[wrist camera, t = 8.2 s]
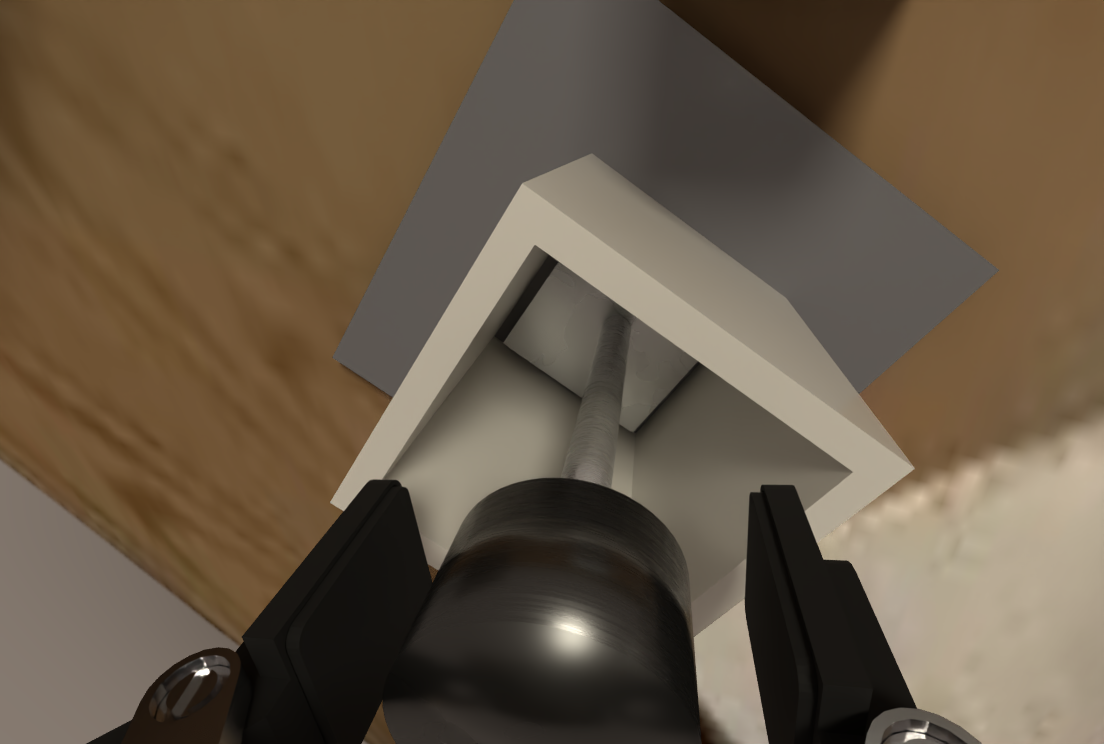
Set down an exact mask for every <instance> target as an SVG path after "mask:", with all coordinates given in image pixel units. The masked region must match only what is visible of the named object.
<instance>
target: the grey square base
mask: <svg viewBox="0 0 1104 744" xmlns="http://www.w3.org/2000/svg"><path fill="white" fill-rule="evenodd" d="M558 262H560V263H562V264H563V265H564V266H566V267H567V268H569V269H570V270H571V271H573V272H574V273H576V274H577V275H578V276H580V277H581V278H583V279H584V280H585V281H587V282H588V283H590V284H591V285H592V286H594V287H595V288H597V289H598V290H599V291H601V292H602V293H603V294H605V295H606V296H608V297H609V298H610V299H612V300H613V301H615V302H616V303H617V304H619V305H620V306H622V307H623V308H624V309H626V310H627V311H629V312H630V313H631V314H633V315H634V316H636V317H637V318H638V319H640V320H641V321H643V322H644V323H645V324H647V325H648V326H650V327H651V328H652V329H654V330H655V331H657V332H658V333H659V334H661V335H662V336H664V337H665V338H666V339H668V340H669V341H671V342H672V343H673V344H675V345H676V346H678V347H679V348H680V349H682V350H683V351H685V352H686V353H687V354H689V355H690V356H692V357H693V358H694V359H696V360H697V361H698V362H697V363H696V364H695V365H694V366H693V367H692V368H691V370H690V371H689V372H688V373H687V374H686V375H685V376H684V377H683V378H682V379H681V380H680V382H679V383H678V384H677V385H676V386H675V387H674V388H673V389H672V390H671V391H670V393H669V394H668V395H667V396H666V397H665V398H664V399H663V400H662V401H661V402H660V403H659V405H658V406H657V407H656V408H655V409H654V410H653V411H652V412H651V413H650V414H649V415H648V417H647V418H646V419H645V420H644V421H643V422H642V423H641V424H640V425H639V426H638V427H637V429H636V430H635V431H634V432H633V433H632V432H631V431H629V430H628V429H626V428H625V427H623V426H622V425H620V424H619V430H618V438H617V446H616V454H615V462H614V470H613V478H612V486H611V489H613V490H615V491H618V492H620V493H622V494H624V495H626V496H628V497H630V498H631V499H633V500H635V501H637V502H638V503H640V504H641V505H643V506H644V507H645V508H647V509H648V510H649V511H651V512H652V513H653V514H654V515H655V516H656V517H657V518H658V519H659V520H660V521H661V522H663V523H664V524H665V526H666V527H667V528H668V529H669V531H670V532H671V533H672V534H673V536H674V537H675V539H676V541H677V542H678V544H679V546H680V548H681V549H682V552H683V555H684V557H685V560H686V563H687V567H688V572H689V582H690V596H691V609H692V623H693V637H695V636H696V635H697V634H699V633H700V632H701V631H702V630H704V629H705V628H706V627H708V626H709V625H710V624H712V623H713V622H714V621H716V620H717V619H718V618H720V617H721V616H722V615H723V614H725V613H726V612H727V611H729V610H730V609H731V608H733V607H734V606H735V605H737V604H738V603H739V602H740V601H742V600H743V599H744V598H745V581H746V559H747V536H748V514H749V495H750V492H760V488H761V485H762V484H763V485H794V486H795V488H796V490H797V493H798V495H799V498H800V501H801V503H802V506H803V508H804V511H805V514H806V516H807V519H808V521H809V524H810V527H811V529H812V532H813V534H814V537H815V540H816V542H817V543H818V542H819V541H820V540H822V539H823V538H824V537H826V536H827V535H828V534H830V533H831V532H832V531H834V530H835V529H836V528H837V527H839V526H840V525H841V524H843V523H844V522H845V521H847V520H848V519H849V518H851V517H852V516H853V515H855V514H856V513H857V512H858V511H860V510H861V509H862V508H864V507H865V506H866V505H868V504H869V503H870V502H872V501H873V500H874V499H875V498H877V497H878V496H879V495H881V494H882V493H883V492H885V491H886V490H887V489H889V488H890V487H891V486H893V485H894V484H895V483H896V482H898V481H899V480H900V479H902V478H903V477H904V476H906V475H907V474H908V473H910V472H911V471H912V470H913V469H915V468H914V467H913V465H912V464H911V463H910V461H909V460H908V459H907V457H906V456H905V455H904V453H903V452H902V451H901V449H900V448H899V447H898V446H897V444H896V443H895V442H894V440H893V439H892V438H891V436H890V435H889V434H888V432H887V431H886V430H885V428H884V427H883V426H882V424H881V423H880V422H879V420H878V419H877V418H876V416H875V415H874V414H873V412H872V411H871V410H870V408H869V407H868V406H867V404H866V403H865V402H864V400H863V399H862V398H861V396H860V395H859V393H860V392H862V391H863V390H864V389H865V388H866V387H867V386H868V385H870V384H871V383H872V382H873V381H874V380H875V379H876V378H877V377H879V376H880V375H881V374H882V373H883V372H884V371H885V370H887V369H888V368H889V367H890V366H891V365H892V364H893V363H894V362H896V361H897V360H898V359H899V358H900V357H901V356H902V355H904V354H905V353H906V352H907V351H908V350H909V349H910V348H911V347H913V346H914V345H915V344H916V343H917V342H918V341H919V340H921V339H922V338H923V337H924V336H925V335H926V334H927V333H928V332H930V331H931V330H932V329H933V328H934V327H935V326H936V325H938V324H939V323H940V322H941V321H942V320H943V319H944V318H946V317H947V316H948V315H949V314H950V313H951V312H952V311H953V310H955V309H956V308H957V307H958V306H959V305H960V304H961V303H963V302H964V301H965V300H966V299H967V298H968V297H969V296H970V295H972V294H973V293H974V292H975V291H976V290H977V289H978V288H980V287H981V286H982V285H983V284H984V283H985V282H986V281H987V280H989V279H990V278H991V277H992V276H993V275H994V274H995V273H997V272H998V271H999V270H998V269H997V268H996V267H995V266H993V265H992V264H991V263H989V262H988V261H987V260H986V259H984V258H983V257H982V256H981V255H979V254H978V253H977V252H976V251H974V250H973V249H972V248H971V247H969V246H968V245H967V244H965V243H964V242H963V241H962V240H960V239H959V238H958V237H957V236H955V235H954V234H953V233H952V232H950V231H949V230H948V229H947V228H945V227H944V226H943V225H941V224H940V223H939V222H938V221H936V220H935V219H934V218H933V217H931V216H930V215H929V214H928V213H926V212H925V211H924V210H922V209H921V208H920V207H919V206H917V205H916V204H915V203H914V202H912V201H911V200H910V199H909V198H907V197H906V196H905V195H904V194H902V193H901V192H900V191H898V190H897V189H896V188H895V187H893V186H892V185H891V184H890V183H888V182H887V181H886V180H885V179H883V178H882V177H881V176H880V175H878V174H877V173H876V172H874V171H873V170H872V169H871V168H869V167H868V166H867V165H866V164H864V163H863V162H862V161H861V160H859V159H858V158H857V157H856V156H854V155H853V154H852V153H850V152H849V151H848V150H847V149H845V148H844V147H843V146H842V145H840V144H839V143H838V142H837V141H835V140H834V139H833V138H832V137H830V136H829V135H828V134H826V133H825V132H824V131H823V130H821V129H820V128H819V127H818V126H816V125H815V124H814V123H813V122H811V121H810V120H809V119H808V118H806V117H805V116H804V115H802V114H801V113H800V112H799V111H797V110H796V109H795V108H794V107H792V106H791V105H790V104H789V103H787V102H786V101H785V100H784V99H782V98H781V97H780V96H778V95H777V94H776V93H775V92H773V91H772V90H771V89H770V88H768V87H767V86H766V85H765V84H763V83H762V82H761V81H760V80H758V79H757V78H756V77H754V76H753V75H752V74H751V73H749V72H748V71H747V70H746V69H744V68H743V67H742V66H741V65H739V64H738V63H737V62H736V61H734V60H733V59H732V58H730V57H729V56H728V55H727V54H725V53H724V52H723V51H722V50H720V49H719V48H718V47H717V46H715V45H714V44H713V43H712V42H710V41H709V40H708V39H706V38H705V37H704V36H703V35H701V34H700V33H699V32H698V31H696V30H695V29H694V28H693V27H691V26H690V25H689V24H688V23H686V22H685V21H684V20H682V19H681V18H680V17H679V16H677V15H676V14H675V13H674V12H672V11H671V10H670V9H669V8H667V7H666V6H665V5H664V4H662V3H661V2H660V1H658V0H514V1H513V3H512V5H511V7H510V9H509V11H508V13H507V15H506V17H505V19H504V21H503V23H502V25H501V27H500V29H499V31H498V33H497V35H496V37H495V39H494V41H493V43H492V45H491V46H490V48H489V50H488V52H487V54H486V56H485V58H484V60H483V62H482V64H481V66H480V68H479V70H478V72H477V74H476V76H475V78H474V80H473V82H472V84H471V86H470V88H469V90H468V92H467V94H466V96H465V98H464V100H463V102H462V104H461V106H460V107H459V109H458V111H457V113H456V115H455V117H454V119H453V121H452V123H451V125H450V127H449V129H448V131H447V133H446V135H445V137H444V139H443V141H442V143H441V145H440V147H439V149H438V151H437V153H436V155H435V157H434V159H433V161H432V163H431V165H430V167H429V169H428V170H427V172H426V174H425V176H424V178H423V180H422V182H421V184H420V186H419V188H418V190H417V192H416V194H415V196H414V198H413V200H412V202H411V204H410V206H409V208H408V210H407V212H406V214H405V216H404V218H403V220H402V222H401V224H400V226H399V228H398V230H397V232H396V233H395V235H394V237H393V239H392V241H391V243H390V245H389V247H388V249H387V251H386V253H385V255H384V257H383V259H382V261H381V263H380V265H379V267H378V269H377V271H376V273H375V275H374V277H373V279H372V281H371V283H370V285H369V287H368V289H367V291H366V293H365V294H364V296H363V298H362V300H361V302H360V304H359V306H358V308H357V310H356V312H355V314H354V316H353V318H352V320H351V322H350V324H349V326H348V328H347V330H346V332H345V334H344V336H343V338H342V340H341V342H340V344H339V346H338V348H337V350H336V352H335V354H334V356H333V357H332V358H334V359H335V360H337V361H338V362H340V363H341V364H343V365H344V366H346V367H347V368H349V369H350V370H352V371H354V372H355V373H357V374H358V375H360V376H361V377H363V378H364V379H366V380H367V381H369V382H370V383H372V384H373V385H375V386H376V387H378V388H379V389H381V390H382V391H384V392H385V393H387V394H388V395H390V396H391V397H393V399H392V401H391V402H390V404H389V406H388V407H387V409H386V411H385V412H384V414H383V416H382V417H381V419H380V420H379V422H378V424H377V425H376V427H375V429H374V430H373V432H372V434H371V435H370V437H369V439H368V440H367V442H366V444H365V445H364V447H363V449H362V450H361V452H360V454H359V455H358V457H357V459H356V460H355V462H354V464H353V465H352V467H351V469H350V470H349V472H348V474H347V475H346V477H345V479H344V480H343V482H342V484H341V485H340V487H339V489H338V490H337V492H336V494H335V495H334V497H333V499H332V500H331V502H330V503H332V504H333V505H335V506H336V507H338V508H340V509H341V510H343V511H344V510H345V509H346V508H347V507H348V505H349V504H350V503H351V502H352V500H353V499H354V498H355V497H356V495H357V494H358V493H359V492H360V490H361V489H362V488H363V487H364V486H365V484H366V483H367V482H368V481H369V480H373V479H380V480H398V481H399V482H400V483H401V485H402V487H406V488H407V489H408V491H409V494H410V498H411V502H412V506H413V509H414V513H415V517H416V521H417V525H418V529H419V533H420V536H421V540H422V544H423V548H424V552H425V556H426V560H427V564H429V565H430V566H432V567H434V568H435V569H437V570H438V571H439V569H440V567H441V565H442V563H443V561H444V559H445V557H446V554H447V552H448V550H449V548H450V546H451V544H452V542H453V540H454V538H455V536H456V534H457V532H458V530H459V528H460V526H461V524H462V522H463V520H464V519H465V517H466V516H467V514H468V513H469V512H470V511H471V510H472V509H473V507H474V506H475V505H476V504H477V503H478V502H480V501H481V500H482V499H484V498H485V497H486V496H488V495H489V494H491V493H493V492H495V491H496V490H498V489H500V488H503V487H505V486H508V485H510V484H513V483H517V482H521V481H525V480H530V479H538V478H561V475H562V471H563V468H564V464H565V460H566V457H567V453H568V449H569V445H570V442H571V438H572V434H573V431H574V427H575V423H576V420H577V416H578V412H579V409H580V405H581V401H582V398H581V397H580V396H578V395H577V394H575V393H574V392H572V391H571V390H570V389H568V388H567V387H565V386H564V385H562V384H561V383H559V382H558V381H556V380H555V379H554V378H552V377H551V376H549V375H548V374H546V373H545V372H543V371H542V370H540V369H539V368H538V367H536V366H535V365H533V364H532V363H530V362H529V361H527V360H526V359H525V358H523V357H522V356H520V355H519V354H517V353H516V352H514V351H513V350H511V349H510V348H509V347H507V346H506V345H504V344H503V342H504V341H505V339H506V338H507V337H508V335H509V334H510V332H511V331H512V329H513V328H514V326H515V325H516V323H517V322H518V320H519V319H520V318H521V316H522V315H523V313H524V312H525V310H526V309H527V307H528V306H529V304H530V303H531V302H532V300H533V299H534V297H535V296H536V294H537V293H538V291H539V290H540V288H541V287H542V285H543V284H544V283H545V281H546V280H547V278H548V277H549V275H550V274H551V272H552V271H553V269H554V268H555V266H556V265H557V264H558Z"/></svg>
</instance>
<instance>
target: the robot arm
mask: <svg viewBox="0 0 1104 744" xmlns="http://www.w3.org/2000/svg"><path fill="white" fill-rule="evenodd" d="M431 585H432V579H431V575H430V571H429V567H428V564H427V560H426V556H425V552H424V548H423V544H422V540H421V536H420V533H419V529H418V525H417V521H416V517H415V513H414V509H413V506H412V502H411V498H410V494H409V491H408V489H407V488H406V487H402V485H401V483H400V482H399V481H398V480H380V479H373V480H369V481H368V482H367V483H366V484H365V486H364V487H363V488H362V489H361V490H360V492H359V493H358V494H357V495H356V497H355V498H354V499H353V500H352V502H351V503H350V504H349V505H348V507H347V508H346V509H345V510H344V511H343V513H342V514H341V515H340V516H339V518H338V519H337V520H336V521H335V523H334V524H333V525H332V526H331V527H330V529H329V530H328V531H327V532H326V534H325V535H324V536H323V537H322V539H321V540H320V541H319V542H318V544H317V545H316V546H315V547H314V548H313V550H312V551H311V552H310V553H309V555H308V556H307V557H306V558H305V560H304V561H303V562H302V563H301V564H300V566H299V567H298V568H297V569H296V571H295V572H294V573H293V574H292V576H291V577H290V578H289V579H288V581H287V582H286V583H285V584H284V585H283V587H282V588H281V589H280V590H279V592H278V593H277V594H276V595H275V597H274V598H273V599H272V600H271V601H270V603H269V604H268V605H267V606H266V608H265V609H264V610H263V611H262V613H261V614H260V615H259V616H258V618H257V619H256V620H255V621H254V622H253V624H252V625H251V626H250V627H249V629H248V630H247V631H246V632H245V634H244V635H243V636H242V638H243V640H244V642H243V643H242V644H241V646H240V647H239V648H238V649H237V651H236V652H234V651H232V650H230V649H228V648H219V647H218V648H212V649H206V650H203V651H200V652H198V653H195V654H193V655H190V656H188V657H186V658H185V659H183V660H181V661H180V662H178V663H176V664H174V665H173V666H172V667H171V668H169V669H168V670H167V671H166V672H164V673H163V674H162V675H161V676H160V677H159V678H158V679H157V680H156V681H155V682H154V683H153V684H152V685H151V686H150V687H149V689H148V690H147V692H146V693H145V695H144V697H143V698H142V700H141V702H140V704H139V706H138V708H137V710H136V712H135V715H134V717H133V719H132V720H131V721H129V722H127V723H125V724H123V725H121V726H119V727H118V728H115V729H114V730H112V731H110V732H108V733H106V734H104V735H102V736H100V737H98V738H96V739H94V740H92V741H91V742H89V743H87V744H361V743H362V741H363V739H364V737H365V735H366V733H367V731H368V729H369V727H370V725H371V723H372V720H373V718H374V716H375V714H376V712H377V710H378V708H379V706H380V704H381V702H382V700H383V690H384V684H385V681H386V678H387V676H388V674H389V671H390V669H391V667H392V665H393V663H394V661H395V659H396V657H397V655H398V653H399V651H400V649H401V646H402V644H403V642H404V640H405V638H406V636H407V634H408V632H409V630H410V628H411V626H412V624H413V622H414V620H415V618H416V616H417V614H418V612H419V610H420V608H421V606H422V604H423V601H424V599H425V597H426V595H427V593H428V591H429V589H430V587H431ZM745 613H746V620H747V626H748V631H749V637H750V642H751V648H752V653H753V659H754V664H755V670H756V675H757V681H758V686H759V692H760V697H761V703H762V708H763V714H764V719H765V724H766V730H767V735H768V741H769V744H982V743H981V742H980V741H978V740H977V739H976V738H974V737H973V736H972V735H971V734H969V733H968V732H967V731H966V730H964V729H963V728H962V727H960V726H958V725H957V724H955V723H953V722H951V721H949V720H947V719H945V718H944V717H942V716H940V715H937V714H934V713H930V712H927V711H924V710H921V709H917V707H916V705H915V703H914V701H913V698H912V696H911V694H910V692H909V689H908V687H907V685H906V683H905V680H904V678H903V676H902V674H901V672H900V669H899V667H898V665H897V663H896V660H895V658H894V656H893V654H892V651H891V649H890V647H889V645H888V643H887V640H886V638H885V636H884V634H883V631H882V629H881V627H880V625H879V622H878V620H877V618H876V616H875V613H874V611H873V609H872V607H871V605H870V602H869V600H868V598H867V596H866V593H865V591H864V589H863V587H862V584H861V582H860V580H859V578H858V576H857V573H856V571H855V569H854V568H853V566H852V564H851V563H850V562H849V561H841V560H823V558H822V555H821V552H820V550H819V547H818V545H817V542H816V540H815V537H814V534H813V532H812V529H811V527H810V524H809V521H808V519H807V516H806V514H805V511H804V508H803V506H802V503H801V501H800V498H799V495H798V493H797V490H796V488H795V486H794V485H763V484H762V485H761V488H760V492H750V495H749V514H748V536H747V559H746V581H745Z"/></svg>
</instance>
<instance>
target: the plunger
mask: <svg viewBox="0 0 1104 744" xmlns="http://www.w3.org/2000/svg"><path fill="white" fill-rule="evenodd" d="M503 344H504V345H506V346H507V347H509V348H510V349H511V350H513V351H514V352H516V353H517V354H519V355H520V356H522V357H523V358H525V359H526V360H527V361H529V362H530V363H532V364H533V365H535V366H536V367H538V368H539V369H540V370H542V371H543V372H545V373H546V374H548V375H549V376H551V377H552V378H554V379H555V380H556V381H558V382H559V383H561V384H562V385H564V386H565V387H567V388H568V389H570V390H571V391H572V392H574V393H575V394H577V395H578V396H580V397H581V398H582V401H581V405H580V409H579V412H578V416H577V420H576V423H575V427H574V431H573V434H572V438H571V442H570V445H569V449H568V453H567V457H566V460H565V464H564V468H563V471H562V475H561V478H538V479H530V480H525V481H521V482H517V483H513V484H510V485H508V486H505V487H503V488H500V489H498V490H496V491H495V492H493V493H491V494H489V495H488V496H486V497H485V498H484V499H482V500H481V501H480V502H478V503H477V504H476V505H475V506H474V507H473V509H472V510H471V511H470V512H469V513H468V514H467V516H466V517H465V519H464V520H463V522H462V524H461V526H460V528H459V530H458V532H457V534H456V536H455V538H454V540H453V542H452V544H451V546H450V548H449V550H448V552H447V554H446V557H445V559H444V561H443V563H442V565H441V567H440V569H439V571H438V573H437V575H436V577H435V579H434V581H433V583H432V585H431V587H430V589H429V591H428V593H427V595H426V597H425V599H424V601H423V604H422V606H421V608H420V610H419V612H418V614H417V616H416V618H415V620H414V622H413V624H412V626H411V628H410V630H409V632H408V634H407V636H406V638H405V640H404V642H403V644H402V646H401V649H400V651H399V653H398V655H397V657H396V659H395V661H394V663H393V665H392V667H391V669H390V671H389V674H388V676H387V678H386V681H385V684H384V690H383V711H384V716H385V720H386V723H387V726H388V728H389V731H390V733H391V735H392V737H393V739H394V741H395V742H396V744H701V733H700V719H699V705H698V692H697V678H696V664H695V650H694V637H693V623H692V609H691V596H690V582H689V572H688V567H687V563H686V560H685V557H684V555H683V552H682V549H681V548H680V546H679V544H678V542H677V541H676V539H675V537H674V536H673V534H672V533H671V532H670V531H669V529H668V528H667V527H666V526H665V524H664V523H663V522H661V521H660V520H659V519H658V518H657V517H656V516H655V515H654V514H653V513H652V512H651V511H649V510H648V509H647V508H645V507H644V506H643V505H641V504H640V503H638V502H637V501H635V500H633V499H631V498H630V497H628V496H626V495H624V494H622V493H620V492H618V491H615V490H613V489H611V486H612V478H613V470H614V462H615V454H616V446H617V438H618V430H619V424H620V425H622V426H623V427H625V428H626V429H628V430H629V431H631V432H632V433H633V432H634V431H635V430H636V429H637V427H638V426H639V425H640V424H641V423H642V422H643V421H644V420H645V419H646V418H647V417H648V415H649V414H650V413H651V412H652V411H653V410H654V409H655V408H656V407H657V406H658V405H659V403H660V402H661V401H662V400H663V399H664V398H665V397H666V396H667V395H668V394H669V393H670V391H671V390H672V389H673V388H674V387H675V386H676V385H677V384H678V383H679V382H680V380H681V379H682V378H683V377H684V376H685V375H686V374H687V373H688V372H689V371H690V370H691V368H692V367H693V366H694V365H695V364H696V363H697V362H698V361H697V360H696V359H694V358H693V357H692V356H690V355H689V354H687V353H686V352H685V351H683V350H682V349H680V348H679V347H678V346H676V345H675V344H673V343H672V342H671V341H669V340H668V339H666V338H665V337H664V336H662V335H661V334H659V333H658V332H657V331H655V330H654V329H652V328H651V327H650V326H648V325H647V324H645V323H644V322H643V321H641V320H640V319H638V318H637V317H636V316H634V315H633V314H631V313H630V312H629V311H627V310H626V309H624V308H623V307H622V306H620V305H619V304H617V303H616V302H615V301H613V300H612V299H610V298H609V297H608V296H606V295H605V294H603V293H602V292H601V291H599V290H598V289H597V288H595V287H594V286H592V285H591V284H590V283H588V282H587V281H585V280H584V279H583V278H581V277H580V276H578V275H577V274H576V273H574V272H573V271H571V270H570V269H569V268H567V267H566V266H564V265H563V264H562V263H560V262H558V264H557V265H556V266H555V268H554V269H553V271H552V272H551V274H550V275H549V277H548V278H547V280H546V281H545V283H544V284H543V285H542V287H541V288H540V290H539V291H538V293H537V294H536V296H535V297H534V299H533V300H532V302H531V303H530V304H529V306H528V307H527V309H526V310H525V312H524V313H523V315H522V316H521V318H520V319H519V320H518V322H517V323H516V325H515V326H514V328H513V329H512V331H511V332H510V334H509V335H508V337H507V338H506V339H505V341H504V342H503Z"/></svg>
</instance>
